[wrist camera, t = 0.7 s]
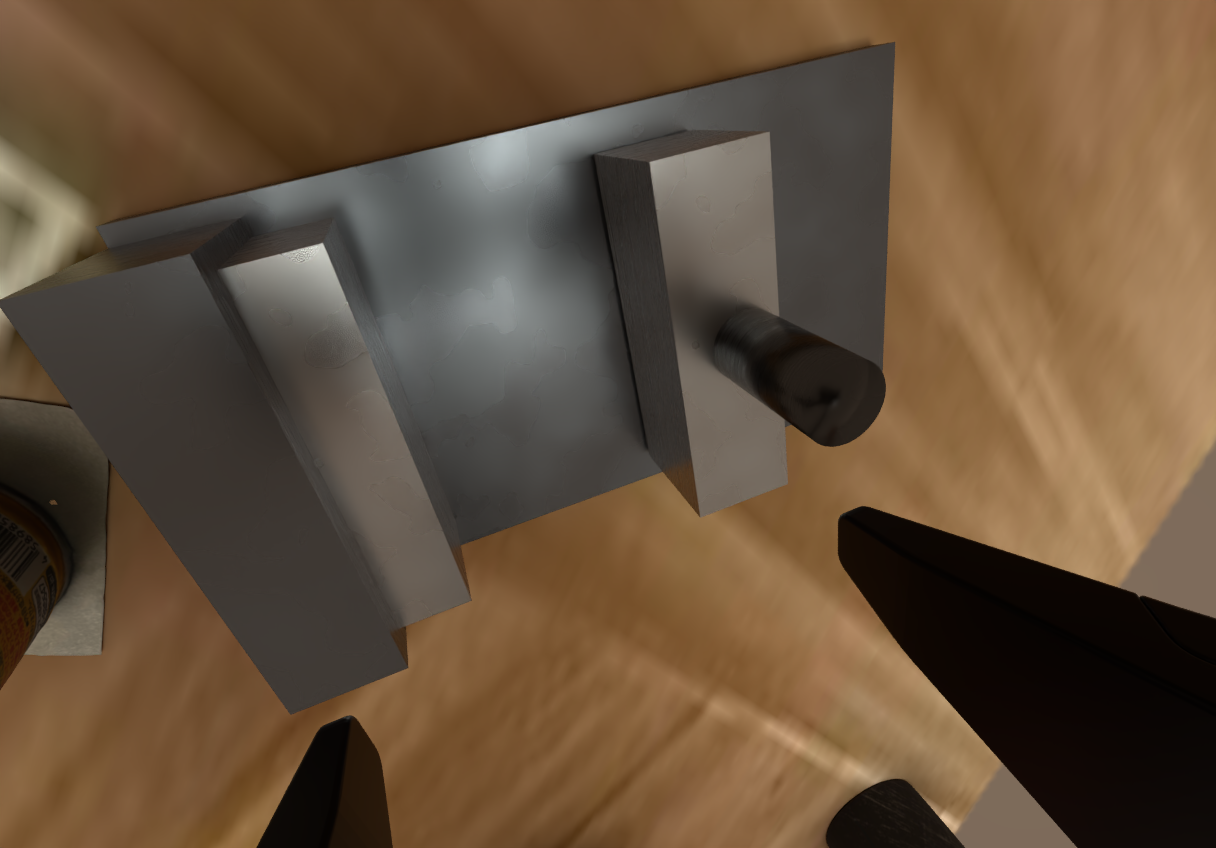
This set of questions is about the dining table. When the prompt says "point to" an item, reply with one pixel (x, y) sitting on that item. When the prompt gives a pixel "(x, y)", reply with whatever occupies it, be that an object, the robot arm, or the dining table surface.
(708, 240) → the sliding jaw
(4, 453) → the condiment
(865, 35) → the dining table surface
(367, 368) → the vise
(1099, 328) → the dining table surface
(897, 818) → the travel mug
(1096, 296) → the dining table surface
